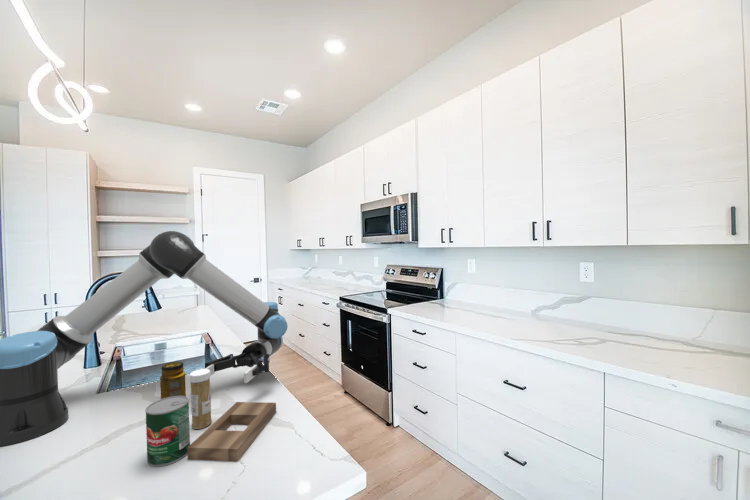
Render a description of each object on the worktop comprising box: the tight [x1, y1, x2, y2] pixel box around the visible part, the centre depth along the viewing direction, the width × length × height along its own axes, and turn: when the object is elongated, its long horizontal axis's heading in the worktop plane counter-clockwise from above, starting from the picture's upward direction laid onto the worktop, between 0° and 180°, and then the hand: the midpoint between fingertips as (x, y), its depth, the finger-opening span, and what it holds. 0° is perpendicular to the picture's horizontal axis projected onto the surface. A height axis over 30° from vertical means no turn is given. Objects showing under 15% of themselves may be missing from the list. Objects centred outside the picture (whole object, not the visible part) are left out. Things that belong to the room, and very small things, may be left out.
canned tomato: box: [145, 395, 191, 468], centre depth 70 cm, size 8×8×11 cm
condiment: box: [159, 361, 191, 401], centre depth 91 cm, size 7×8×12 cm
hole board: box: [187, 401, 277, 462], centre depth 78 cm, size 11×20×2 cm, turn 174°
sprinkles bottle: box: [189, 368, 213, 430], centre depth 82 cm, size 5×5×13 cm
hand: (222, 378), depth 91 cm, fingers open, 13 cm apart
